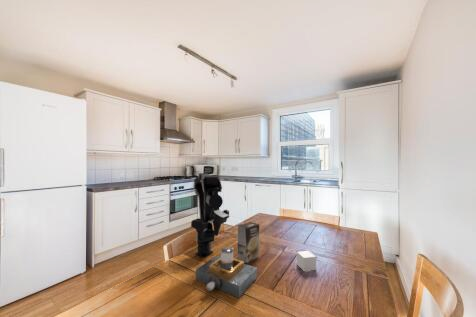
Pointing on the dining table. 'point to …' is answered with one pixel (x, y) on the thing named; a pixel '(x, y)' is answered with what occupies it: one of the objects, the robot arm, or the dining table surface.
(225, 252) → the silver calibration weight
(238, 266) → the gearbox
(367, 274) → the dining table surface
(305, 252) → the adhesive note
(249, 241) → the coffee box
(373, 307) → the dining table surface
